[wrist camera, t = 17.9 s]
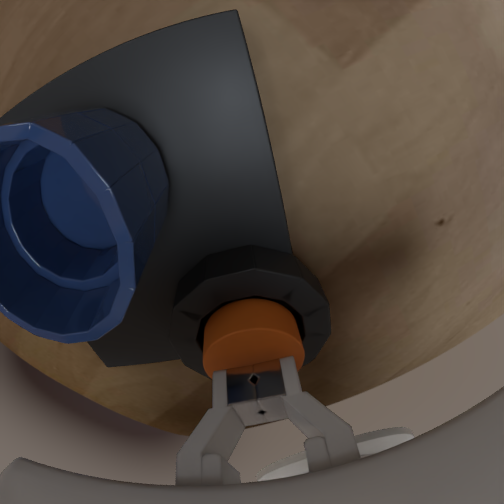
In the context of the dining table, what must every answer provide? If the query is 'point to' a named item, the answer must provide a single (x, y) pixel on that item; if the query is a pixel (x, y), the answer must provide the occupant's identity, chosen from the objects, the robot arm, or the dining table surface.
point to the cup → (76, 220)
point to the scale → (196, 188)
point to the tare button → (250, 335)
